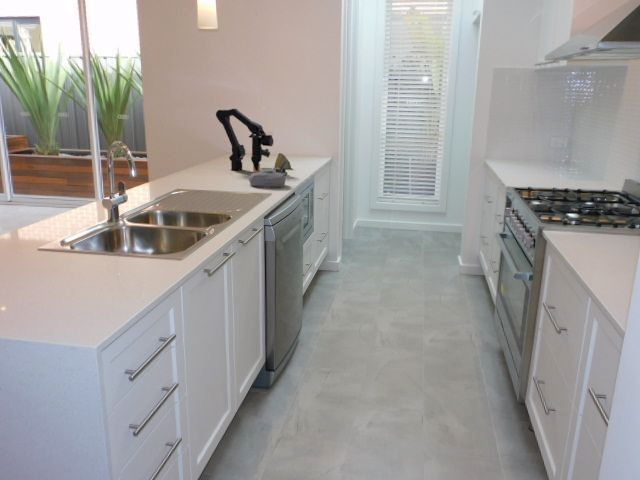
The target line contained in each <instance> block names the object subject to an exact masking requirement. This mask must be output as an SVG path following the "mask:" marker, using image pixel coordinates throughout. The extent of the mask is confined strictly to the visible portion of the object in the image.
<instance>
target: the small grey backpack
mask: <svg viewBox="0 0 640 480" xmlns="http://www.w3.org/2000/svg"><path fill="white" fill-rule="evenodd" d="M248 182H249V184H250V186H252V187H258V188H264V187H272V188H271V189H276V188H277V189H278V188H279V189H281V188H284V187H285V184H286V176H285V175H284V174H281V173H277V172H275V171H262V172H253V173H252V174H251V175H249V179H248ZM283 186H284V187H283Z"/></svg>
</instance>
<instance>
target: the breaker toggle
mask: <svg viewBox="0 0 640 480" xmlns="http://www.w3.org/2000/svg"><path fill="white" fill-rule="evenodd" d="M287 160H288V159H287ZM287 160H286V161H284V163H283V164H282V166H281V167H280V168H279V169H282V171H283V169H284V168H285V166H286V165H287V164H288V161H289V160H288V161H287Z"/></svg>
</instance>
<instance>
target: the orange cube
mask: <svg viewBox="0 0 640 480" xmlns="http://www.w3.org/2000/svg"><path fill="white" fill-rule="evenodd" d="M252 168H253V169H252V170H253V172H252V173H257V172H260V168H261V162H259V165H258V170H257V171H256V170H255V167H254V165H253V167H252Z"/></svg>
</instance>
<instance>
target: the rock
mask: <svg viewBox="0 0 640 480" xmlns="http://www.w3.org/2000/svg"><path fill="white" fill-rule="evenodd" d="M286 160H287V161H288V164H287V165H286V166H285V168H286V170H287V169H292V166H291V162H290V161H289V159H288V158H287V157H286V156H285V155H284V154H283V153H282V152H280V153H278V155H277V156H276V160H275V162H274V167H273V168H280V167H281V166H282V164H283V163H284V161H286Z"/></svg>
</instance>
